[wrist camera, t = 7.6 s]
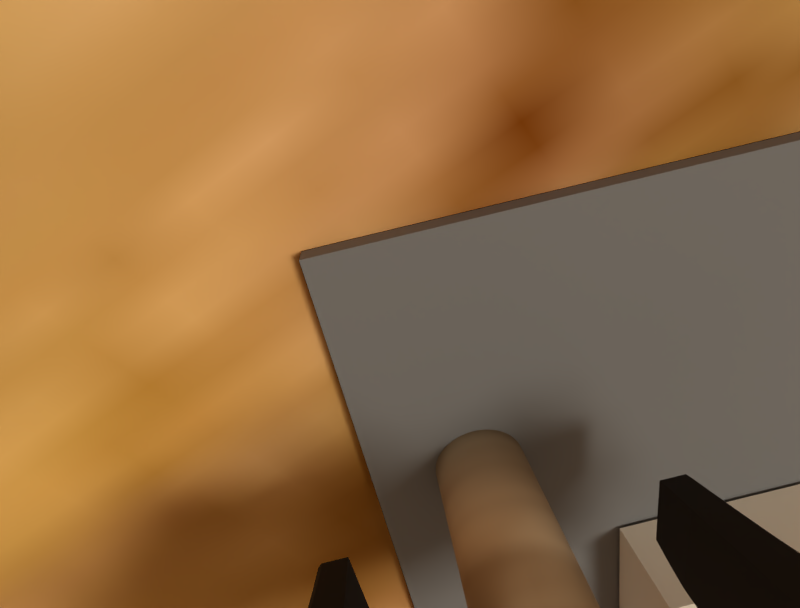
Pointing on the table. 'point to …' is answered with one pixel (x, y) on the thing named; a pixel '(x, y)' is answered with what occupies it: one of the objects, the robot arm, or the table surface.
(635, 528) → the beige square frame
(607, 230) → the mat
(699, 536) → the robot arm
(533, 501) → the birch dowel
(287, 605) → the table surface
